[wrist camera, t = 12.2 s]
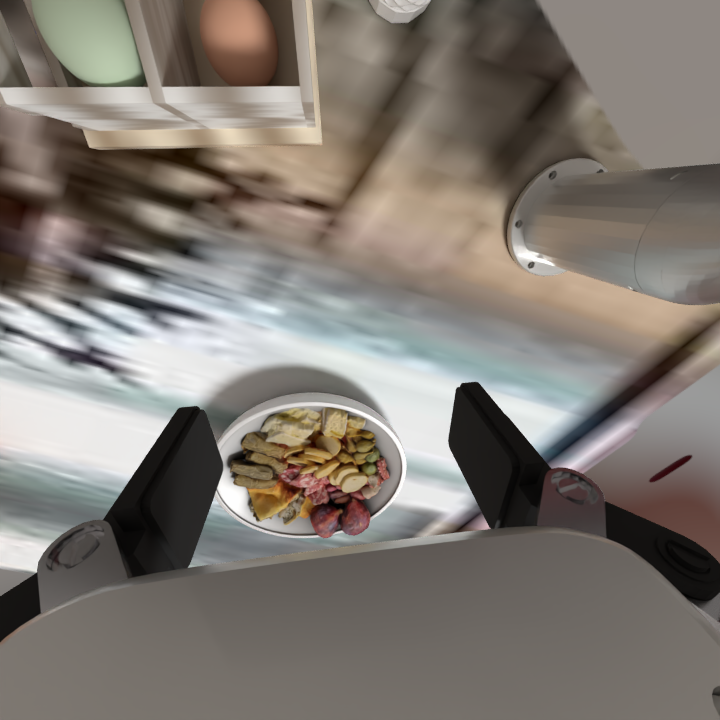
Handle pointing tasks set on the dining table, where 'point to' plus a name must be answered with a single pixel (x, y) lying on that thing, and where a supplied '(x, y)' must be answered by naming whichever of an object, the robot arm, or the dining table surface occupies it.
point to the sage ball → (92, 40)
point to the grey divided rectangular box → (180, 86)
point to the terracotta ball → (239, 41)
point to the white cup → (399, 9)
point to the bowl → (309, 466)
